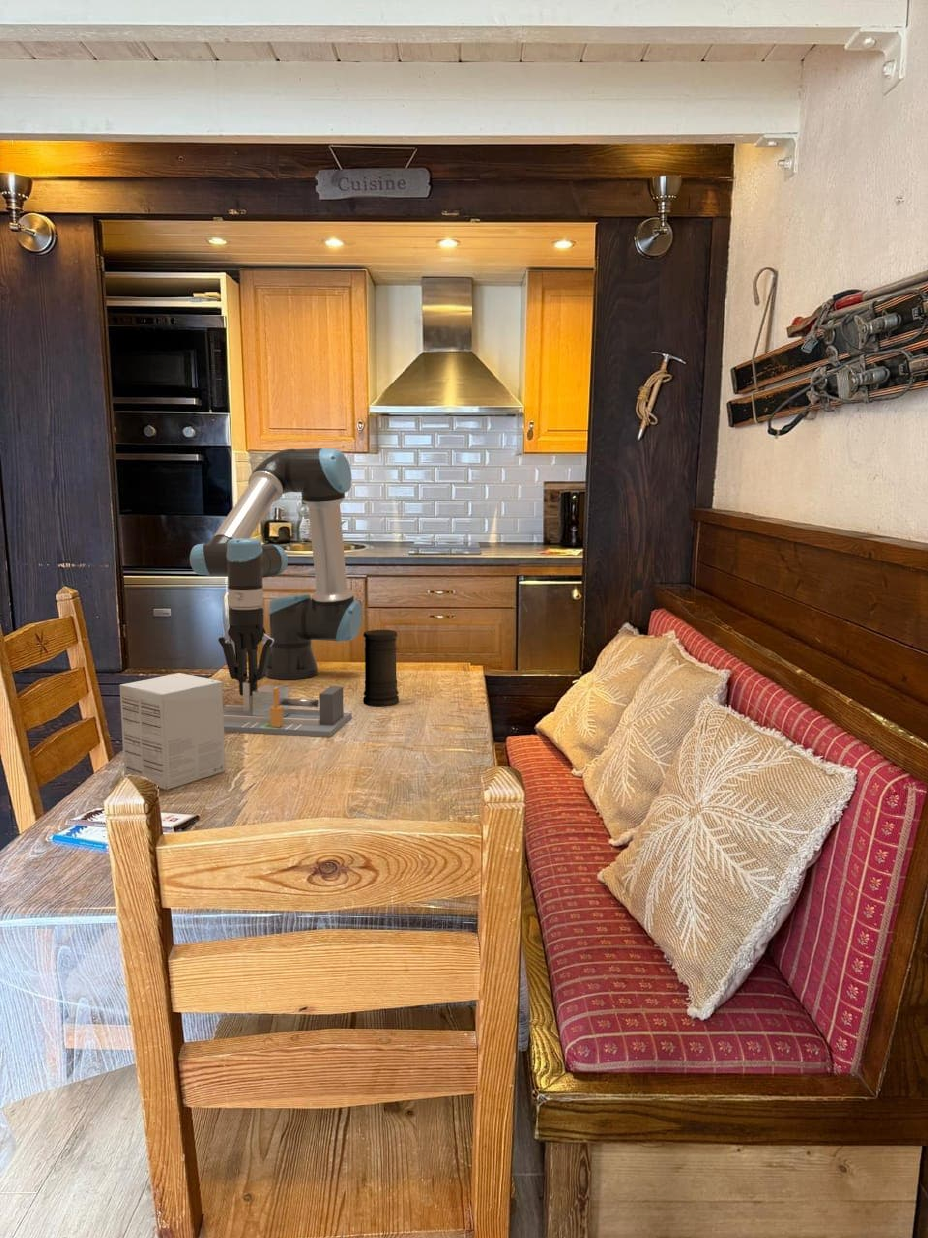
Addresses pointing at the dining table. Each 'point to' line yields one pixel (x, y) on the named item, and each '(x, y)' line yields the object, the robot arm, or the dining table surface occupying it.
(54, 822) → the dining table surface
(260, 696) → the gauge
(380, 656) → the container
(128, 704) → the supplement box
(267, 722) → the grey slider board
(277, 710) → the orange t-shaped stamp
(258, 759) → the dining table surface
